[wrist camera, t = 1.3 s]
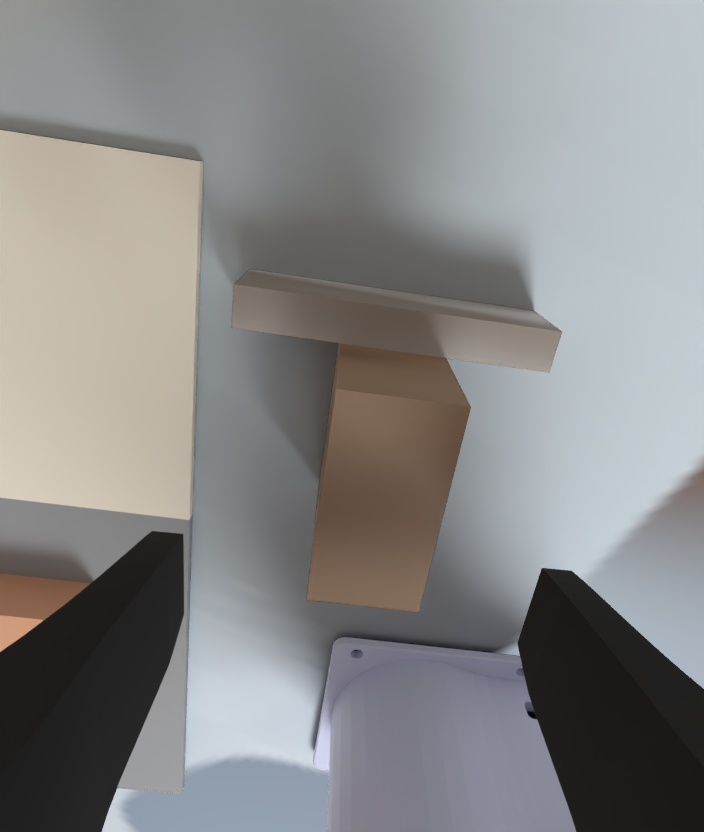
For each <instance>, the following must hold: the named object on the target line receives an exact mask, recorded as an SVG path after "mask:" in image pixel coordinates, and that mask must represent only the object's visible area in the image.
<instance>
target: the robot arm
mask: <svg viewBox="0 0 704 832" xmlns="http://www.w3.org/2000/svg"><path fill="white" fill-rule="evenodd" d="M183 616H184V542H183V534H179V533H169V532H158V531H151V532H150V533H149V534H147V535H146V536H145V537H144V538H143V539H141V540H140V541H139V542H138V543H137V544H136V545H135V546H133V547H132V548H131V549H130V550H129V551H128V552H127V553H125V554H124V555H123V556H122V557H121V558H120V559H119V560H117V561H116V562H115V563H114V564H113V565H112V566H110V567H109V568H108V569H107V570H106V571H105V572H103V573H102V574H101V575H100V576H99V577H98V578H96V579H95V580H94V581H93V582H91V583H90V584H89V585H88V586H87V587H85V588H84V589H83V590H82V591H81V592H79V593H78V594H77V595H76V596H74V597H73V598H72V599H71V600H70V601H68V602H67V603H66V604H65V605H63V606H62V607H61V608H59V609H58V610H57V611H55V612H54V613H53V614H51V615H50V616H49V617H47V618H46V619H45V620H43V621H42V622H41V623H39V624H38V625H37V626H35V627H34V628H33V629H31V630H30V631H29V632H27V633H26V634H25V635H23V636H22V637H21V638H19V639H18V640H16V641H15V642H14V643H12V644H11V645H9V646H8V647H6V648H5V649H4V650H2V651H1V652H0V832H101V831H102V828H103V825H104V822H105V819H106V816H107V813H108V810H109V808H110V805H111V802H112V800H113V797H114V795H115V792H116V789H117V787H118V784H119V782H120V779H121V777H122V775H123V772H124V770H125V768H126V765H127V763H128V760H129V758H130V756H131V753H132V751H133V749H134V746H135V744H136V742H137V739H138V737H139V735H140V732H141V730H142V728H143V725H144V723H145V721H146V718H147V716H148V714H149V711H150V709H151V707H152V704H153V702H154V700H155V697H156V695H157V692H158V690H159V688H160V685H161V683H162V680H163V678H164V676H165V673H166V671H167V668H168V666H169V664H170V660H171V657H172V654H173V651H174V647H175V644H176V641H177V637H178V634H179V630H180V627H181V623H182V620H183ZM518 648H519V652H520V656H516V655H506V654H497V653H488V652H479V651H469V650H460V649H451V648H442V647H432V646H423V645H414V644H405V643H395V642H386V641H377V640H367V639H358V638H349V637H342V638H339V639H337V640H336V641H335V642H334V644H333V648H332V653H331V659H330V665H329V670H328V676H327V682H326V687H325V693H324V699H323V704H322V710H321V716H320V721H319V727H318V733H317V739H316V744H315V750H314V756H313V764H314V766H315V767H316V768H318V769H321V770H329V786H328V812H327V832H704V689H703V688H702V687H701V686H699V685H698V684H697V683H696V682H694V681H693V680H692V679H691V678H689V676H687V675H686V674H685V673H684V672H683V671H681V670H680V669H679V668H678V667H677V666H676V665H675V664H673V663H672V662H671V661H670V660H669V659H668V658H667V657H665V656H664V655H663V654H662V653H661V652H660V651H659V650H658V649H657V648H655V647H654V646H653V645H652V644H651V643H650V642H649V641H648V640H647V639H645V638H644V637H643V636H642V635H641V634H640V633H639V632H638V631H637V630H636V629H635V628H634V627H632V626H631V625H630V624H629V623H628V622H627V621H626V620H625V619H624V618H623V617H622V616H621V615H619V614H618V613H617V612H616V611H615V610H614V609H613V608H612V607H611V606H610V605H609V604H608V603H607V602H606V601H605V600H603V599H602V598H601V597H600V596H599V595H598V594H597V593H596V592H595V591H594V590H593V589H592V588H591V587H589V586H588V585H587V584H586V583H585V582H584V581H583V580H582V579H580V578H579V577H578V576H577V575H576V574H575V573H573V572H572V571H567V570H557V569H546V568H542V570H541V573H540V576H539V579H538V582H537V585H536V588H535V591H534V594H533V597H532V600H531V603H530V606H529V610H528V613H527V616H526V619H525V622H524V625H523V628H522V631H521V634H520V637H519V640H518ZM357 649H358V650H360V651H354V650H357ZM521 667H523V668H521Z"/></svg>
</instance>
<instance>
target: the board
mask: <svg viewBox="0 0 704 832" xmlns="http://www.w3.org/2000/svg"><path fill="white" fill-rule="evenodd" d="M202 186H203V162H202V161H196V160H189V159H183V158H177V157H170V156H164V155H157V154H151V153H145V152H138V151H132V150H126V149H119V148H113V147H107V146H100V145H94V144H88V143H81V142H75V141H68V140H62V139H56V138H49V137H43V136H37V135H30V134H24V133H18V132H11V131H5V130H0V573H1V574H10V575H19V576H28V577H37V578H46V579H55V580H64V581H74V582H83V583H91V582H93V581H94V580H95V579H96V578H98V577H99V576H100V575H101V574H102V573H103V572H105V571H106V570H107V569H108V568H109V567H110V566H112V565H113V564H114V563H115V562H116V561H117V560H119V559H120V558H121V557H122V556H123V555H124V554H125V553H127V552H128V551H129V550H130V549H131V548H132V547H133V546H135V545H136V544H137V543H138V542H139V541H140V540H141V539H143V538H144V537H145V536H146V535H147V534H149V533H150V532H151V531H158V532H169V533H179V534H183V542H184V616H183V620H182V623H181V627H180V630H179V634H178V637H177V641H176V644H175V647H174V651H173V654H172V657H171V660H170V664H169V666H168V668H167V671H166V673H165V676H164V678H163V680H162V683H161V685H160V688H159V690H158V692H157V695H156V697H155V700H154V702H153V704H152V707H151V709H150V711H149V714H148V716H147V718H146V721H145V723H144V725H143V728H142V730H141V732H140V735H139V737H138V739H137V742H136V744H135V746H134V749H133V751H132V753H131V756H130V758H129V760H128V763H127V765H126V768H125V770H124V772H123V775H122V777H121V779H120V782H119V784H118V787H117V788H122V789H133V790H144V791H156V792H167V793H178V794H182V791H183V787H184V772H185V739H186V707H187V674H188V642H189V609H190V576H191V544H192V511H193V479H194V446H195V414H196V381H197V349H198V316H199V283H200V251H201V218H202Z"/></svg>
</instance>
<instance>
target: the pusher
mask: <svg viewBox="0 0 704 832" xmlns="http://www.w3.org/2000/svg"><path fill="white" fill-rule="evenodd" d="M231 328H234V329H241V330H249V331H256V332H263V333H270V334H277V335H284V336H291V337H299V338H306V339H313V340H320V341H327V342H334V343H338V349H337V356H336V363H335V371H334V378H333V385H332V392H331V399H330V407H329V414H328V421H327V428H326V435H325V443H324V450H323V457H322V464H321V471H320V478H319V487H318V496H317V506H316V515H315V524H314V534H313V543H312V553H311V562H310V572H309V581H308V591H307V600H312V601H321V602H330V603H339V604H348V605H357V606H366V607H375V608H384V609H393V610H402V611H411V612H419V609H420V605H421V601H422V597H423V593H424V589H425V585H426V581H427V578H428V574H429V570H430V566H431V562H432V558H433V554H434V550H435V546H436V542H437V538H438V534H439V530H440V526H441V522H442V518H443V515H444V511H445V507H446V503H447V499H448V495H449V491H450V487H451V483H452V479H453V475H454V471H455V467H456V463H457V459H458V455H459V452H460V448H461V444H462V440H463V436H464V432H465V428H466V424H467V420H468V416H469V412H470V408H471V406H470V404H469V403H468V401H467V399H466V397H465V395H464V393H463V391H462V389H461V387H460V385H459V383H458V381H457V379H456V377H455V375H454V373H453V371H452V369H451V367H450V365H449V363H448V361H447V359H446V358H449V359H456V360H463V361H470V362H477V363H484V364H491V365H499V366H506V367H513V368H520V369H527V370H534V371H542V372H550V369H551V366H552V363H553V359H554V356H555V353H556V350H557V347H558V343H559V340H560V337H561V334H562V331H560V330H559V329H558V328H556V327H555V326H554V325H552V324H551V323H550V322H548V321H547V320H546V319H544V318H543V317H542V316H541V315H539V314H538V313H537V312H535V311H532V310H525V309H518V308H511V307H504V306H497V305H491V304H484V303H477V302H470V301H463V300H456V299H450V298H443V297H436V296H429V295H422V294H416V293H409V292H402V291H395V290H388V289H381V288H375V287H368V286H361V285H354V284H347V283H340V282H334V281H327V280H320V279H313V278H306V277H300V276H293V275H286V274H279V273H272V272H265V271H259V270H252V269H249V270H248V271H247V272H246V273H245V274H244V275H243V276H242V277H241V278H240V279H239V280H238V281H237V282H236V283H235V284H234V289H233V307H232V325H231Z"/></svg>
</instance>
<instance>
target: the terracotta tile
mask: <svg viewBox="0 0 704 832" xmlns="http://www.w3.org/2000/svg"><path fill="white" fill-rule="evenodd" d="M89 584H90V583H83V582H74V581H64V580H55V579H46V578H37V577H28V576H19V575H10V574H1V573H0V652H1V651H2V650H4V649H5V648H6V647H8V646H9V645H11V644H12V643H14V642H15V641H16V640H18V639H19V638H21V637H22V636H23V635H25V634H26V633H27V632H29V631H30V630H31V629H33V628H34V627H35V626H37V625H38V624H39V623H41V622H42V621H43V620H45V619H46V618H47V617H49V616H50V615H51V614H53V613H54V612H55V611H57V610H58V609H59V608H61V607H62V606H63V605H65V604H66V603H67V602H68V601H70V600H71V599H72V598H73V597H74V596H76V595H77V594H78V593H79V592H81V591H82V590H83V589H84V588H85V587H87V586H88V585H89Z"/></svg>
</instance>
